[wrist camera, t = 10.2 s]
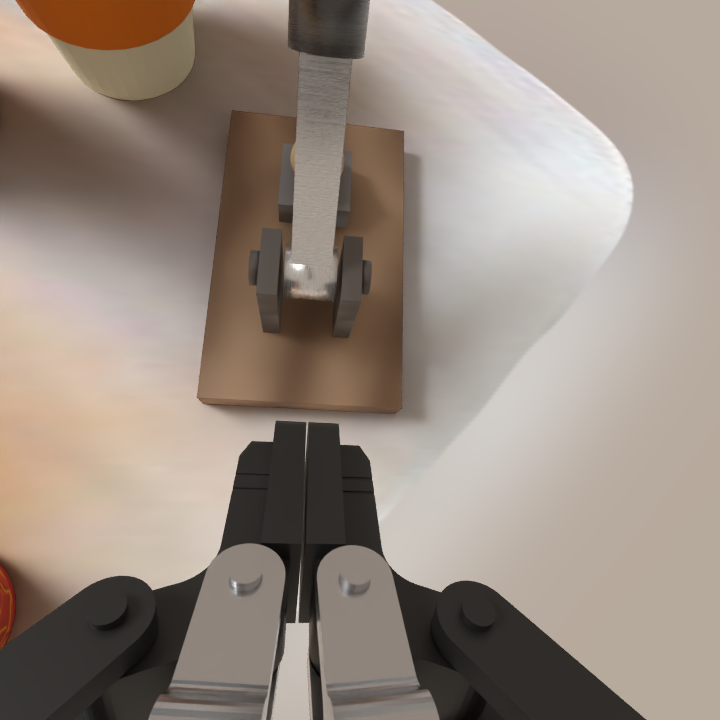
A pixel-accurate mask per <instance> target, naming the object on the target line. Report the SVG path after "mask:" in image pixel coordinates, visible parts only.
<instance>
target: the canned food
mask: <svg viewBox="0 0 720 720" xmlns="http://www.w3.org/2000/svg"><path fill="white" fill-rule="evenodd" d="M15 612H16V598H15V592H14V588H13V584H12V582H11V580H10V578H9V576H8V574H7V572H6V571H5V570H4V569H3V567H2V566H1V565H0V649H1V648H3V647H4V645H5V643H6V642H7V640H8V637H9V635H10V632H11V629H12V627H13V623H14V618H15Z"/></svg>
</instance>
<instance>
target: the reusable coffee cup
mask: <svg viewBox="0 0 720 720" xmlns="http://www.w3.org/2000/svg"><path fill="white" fill-rule="evenodd" d="M194 1H195V0H16V2H17V3H18V5H19V6H20V7H21V9H22V10H23V12H24V13H25V14H26V16H27V17H28V18H29V19H30V20H31V21H32V22H33V23H34V24H35V25H36V26H37V27H38V28H40V29H41V30H43V31H44V32H46V33H47V34H48V35H49V37H50V38H51V40H52V41H53V43H54V44H55V45H56V47H57V48H58V50H59V51H60V53H61V54H62V56H63V57H64V58H65V60H66V61H67V63H68V64H69V66H70V67H71V68H72V70H73V71H74V73H75V74H76V76H77V77H78V78H79V79H80V80H81V81H82V82H83V83H84V84H85V85H87V86H88V87H90V88H91V89H93V90H94V91H96V92H98V93H101V94H103V95H105V96H108V97H112V98H116V99H122V100H145V99H149V98H154V97H158V96H160V95H163V94H165V93H168V92H169V91H171V90H172V89H174V88H176V87H177V86H178V85H179V84H181V83H182V82H183V81H184V80H185V79H186V77H187V76H188V74H189V73H190V71H191V69H192V66H193V64H194V60H195V41H194V27H193V14H192V7H193V4H194Z"/></svg>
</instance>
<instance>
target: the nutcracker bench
mask: <svg viewBox="0 0 720 720" xmlns="http://www.w3.org/2000/svg"><path fill="white" fill-rule="evenodd" d="M296 127H297V118H292V117H284V116H276V115H267V114H259V113H251V112H243V111H235V110H232V114H231V122H230V130H229V138H228V146H227V155H226V163H225V171H224V179H223V187H222V196H221V204H220V212H219V220H218V228H217V237H216V245H215V253H214V261H213V269H212V278H211V286H210V294H209V302H208V310H207V319H206V327H205V335H204V343H203V351H202V360H201V368H200V376H199V384H198V392H197V398H198V399H199V400H200V401H201V402H202V403H203V404H222V405H241V406H260V407H279V408H299V409H318V410H337V411H356V412H376V413H397V412H398V411H399V410H400V409H402V316H403V169H404V131H399V130H391V129H383V128H374V127H366V126H358V125H350V124H346V125H345V136H344V146H343V156H342V166H341V176H340V186H339V196H338V206H337V216H336V226H335V236H334V248H338V267H337V281H336V291H335V298H334V301H320V300H308V299H295V298H284V269H285V255H286V246H287V243H290V244H292V227H293V202H294V177H295V152H296Z"/></svg>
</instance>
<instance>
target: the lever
mask: <svg viewBox="0 0 720 720" xmlns="http://www.w3.org/2000/svg"><path fill="white" fill-rule="evenodd" d="M369 4H370V0H289V23H288V47H289V48H291V49H293V50H296V51H299V52H300V53H299V78H298V103H297V127H296V152H295V177H294V202H293V227H292V244H290V243H287V246H286V255H285V269H284V298H295V299H308V300H320V301H334V298H335V291H336V281H337V267H338V248H334V236H335V226H336V216H337V206H338V196H339V186H340V176H341V166H342V156H343V146H344V136H345V125H346V115H347V105H348V95H349V85H350V75H351V65H352V59H358V58H362V57H364V48H365V40H366V31H367V22H368V13H369Z"/></svg>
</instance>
